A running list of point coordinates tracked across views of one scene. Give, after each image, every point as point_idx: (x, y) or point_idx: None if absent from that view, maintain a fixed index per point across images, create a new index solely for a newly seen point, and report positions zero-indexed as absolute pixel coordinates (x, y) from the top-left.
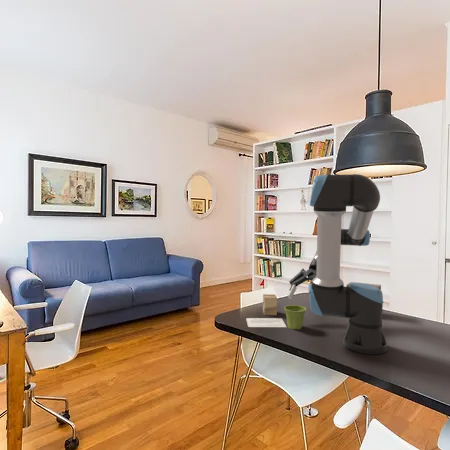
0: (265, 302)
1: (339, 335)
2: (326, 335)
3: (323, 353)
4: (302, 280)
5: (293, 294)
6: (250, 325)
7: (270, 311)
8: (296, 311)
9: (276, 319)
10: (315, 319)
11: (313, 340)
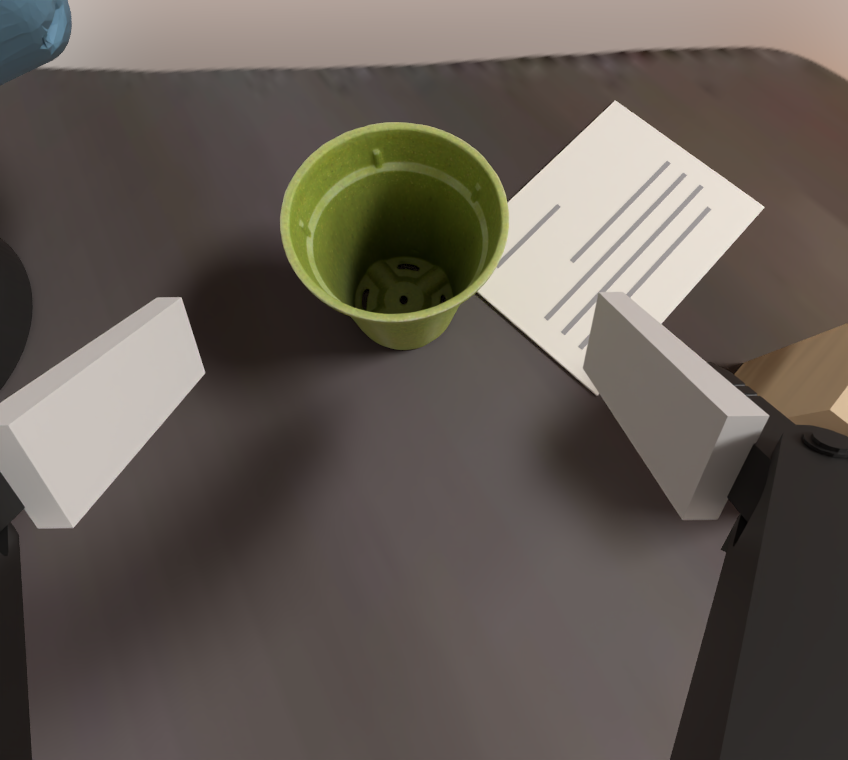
0: (844, 327)
1: None
2: None
3: (88, 98)
4: (712, 687)
5: (614, 411)
6: (625, 126)
7: None
8: (326, 143)
9: None
10: (390, 607)
11: (199, 201)
